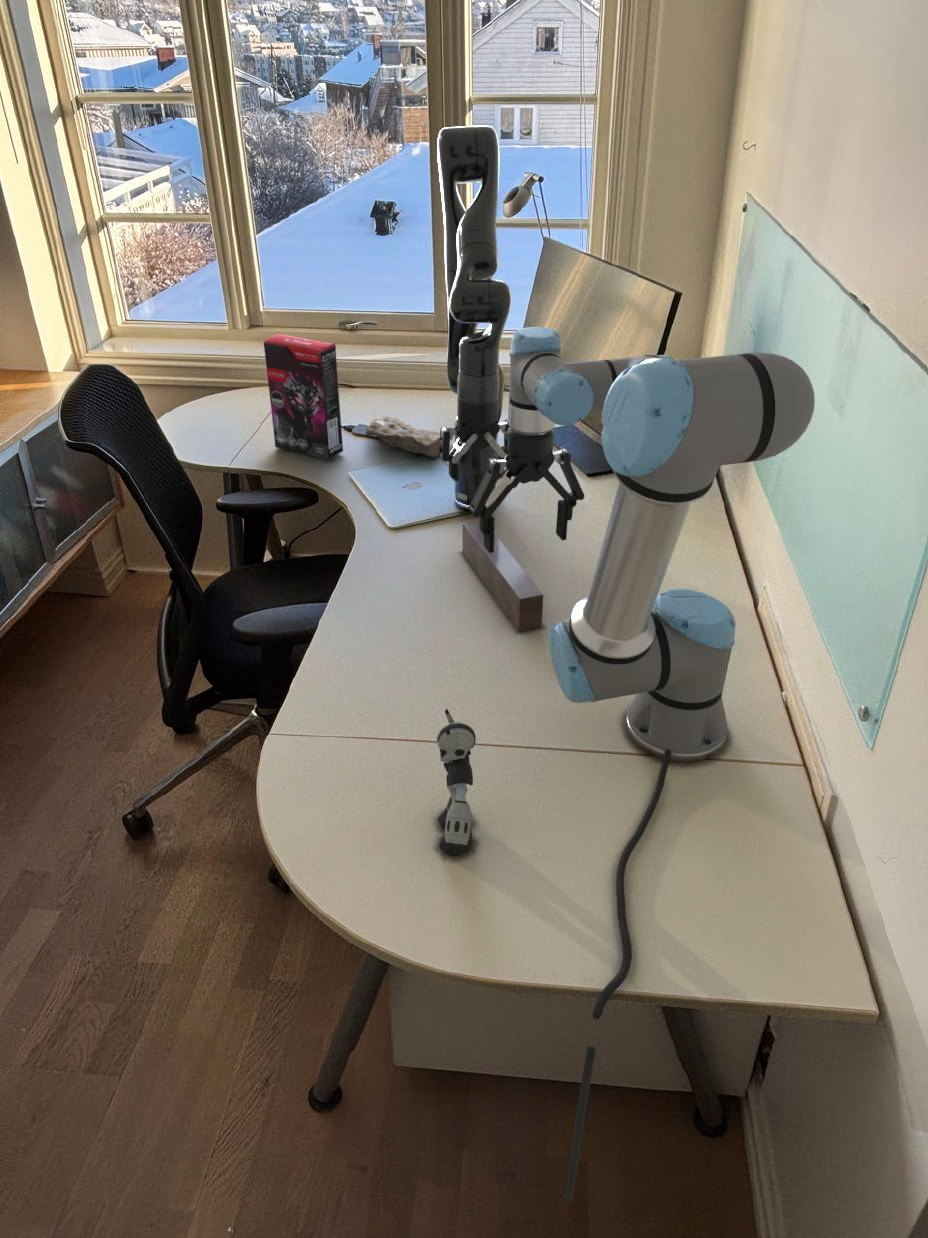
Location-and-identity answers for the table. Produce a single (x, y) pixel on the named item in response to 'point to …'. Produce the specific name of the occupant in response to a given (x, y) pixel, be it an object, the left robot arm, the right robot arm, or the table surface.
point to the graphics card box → (304, 395)
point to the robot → (456, 785)
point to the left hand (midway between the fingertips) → (476, 476)
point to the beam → (504, 578)
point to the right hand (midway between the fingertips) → (525, 542)
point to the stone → (405, 436)
